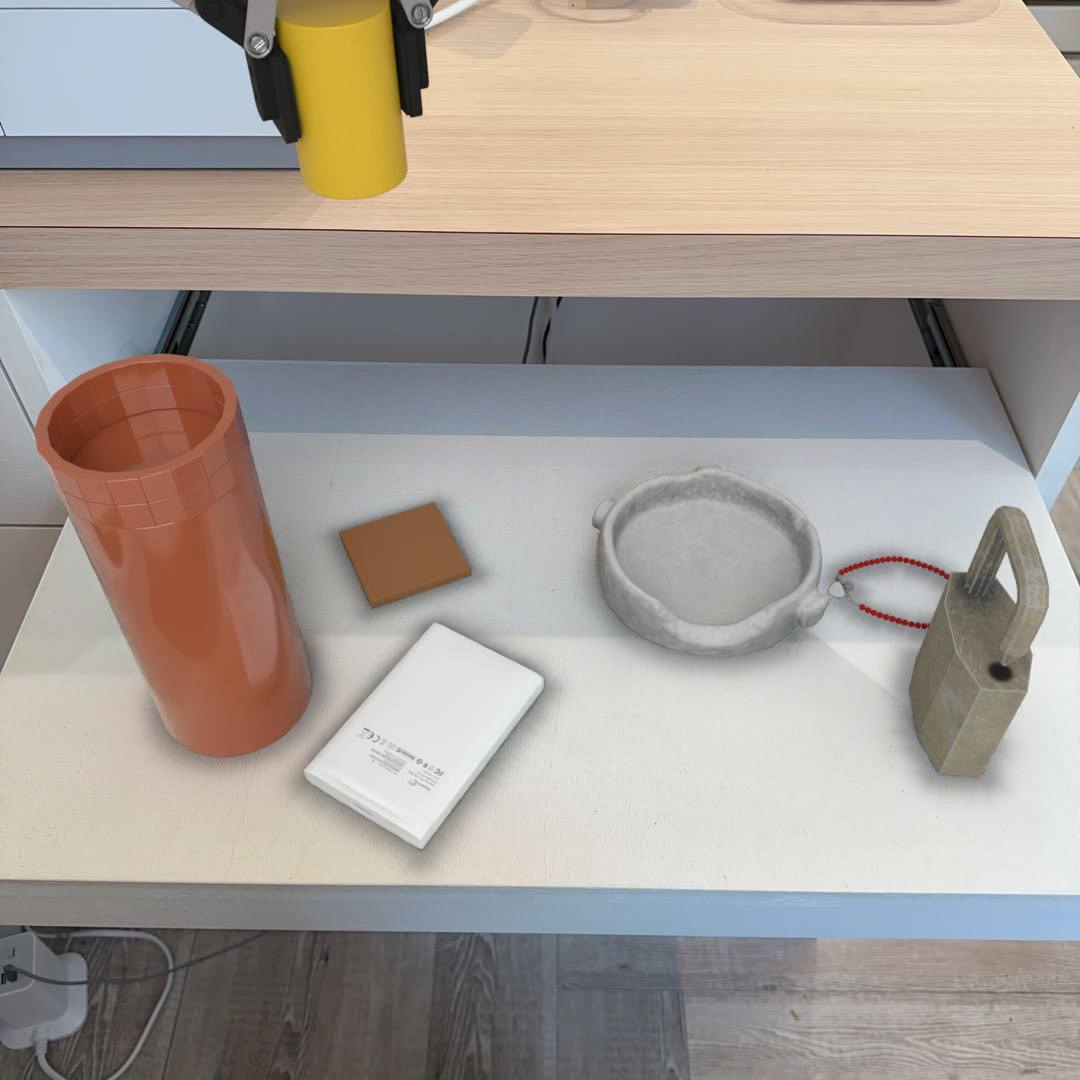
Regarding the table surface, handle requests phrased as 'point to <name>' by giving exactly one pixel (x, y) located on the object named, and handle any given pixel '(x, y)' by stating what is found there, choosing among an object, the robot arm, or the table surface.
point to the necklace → (844, 586)
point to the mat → (404, 554)
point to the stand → (181, 545)
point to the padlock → (980, 649)
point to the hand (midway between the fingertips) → (346, 114)
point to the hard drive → (425, 733)
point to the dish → (709, 562)
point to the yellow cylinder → (344, 95)
